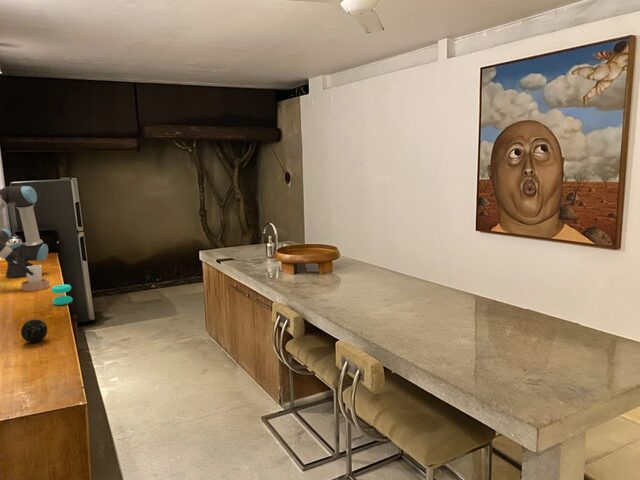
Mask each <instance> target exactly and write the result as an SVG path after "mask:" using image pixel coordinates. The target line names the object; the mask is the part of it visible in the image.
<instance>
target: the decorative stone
mask: <svg viewBox="0 0 640 480" xmlns="http://www.w3.org/2000/svg"><path fill="white" fill-rule="evenodd" d="M48 331H49V330H48V326H47V324H46V323H45V321H43V320H40V319H30V320H27V321H26V322H25V323H24V324H23V325H22V327H21V329H20V334H21V337H22V339H24V341H26V342H28V343H31V344H33V343H34V344H35V343H39V342H41V341H43V340H44V339H45V338H46V336H47V335H48Z"/></svg>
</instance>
